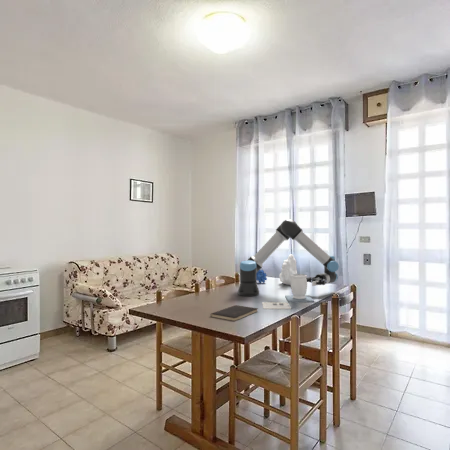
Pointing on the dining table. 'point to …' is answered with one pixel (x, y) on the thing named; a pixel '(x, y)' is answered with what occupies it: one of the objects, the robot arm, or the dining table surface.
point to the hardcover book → (234, 312)
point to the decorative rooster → (288, 270)
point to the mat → (291, 299)
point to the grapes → (261, 276)
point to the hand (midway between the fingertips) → (303, 282)
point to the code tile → (275, 305)
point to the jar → (299, 286)
